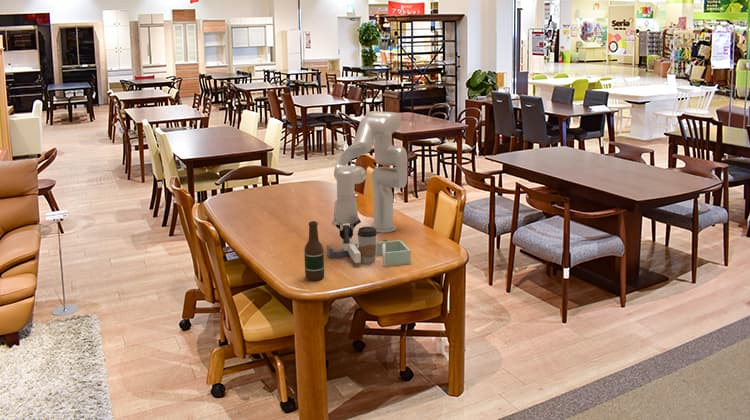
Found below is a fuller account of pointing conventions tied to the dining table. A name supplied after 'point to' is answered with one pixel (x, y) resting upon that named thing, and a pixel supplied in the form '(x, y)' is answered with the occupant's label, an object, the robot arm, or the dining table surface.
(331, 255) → the rail
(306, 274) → the beer bottle
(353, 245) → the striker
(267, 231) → the dining table surface
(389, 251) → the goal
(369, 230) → the coffee cup
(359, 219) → the robot arm
